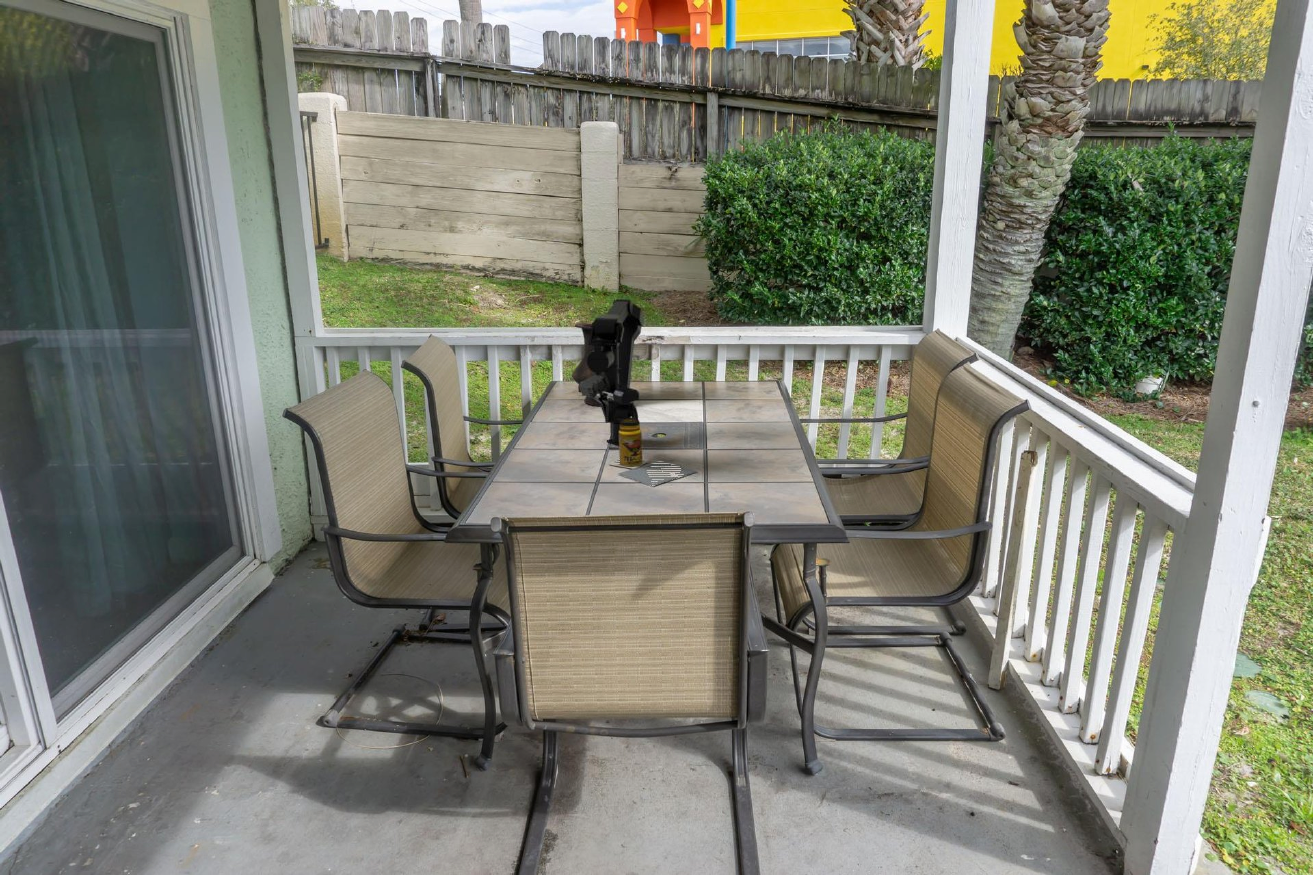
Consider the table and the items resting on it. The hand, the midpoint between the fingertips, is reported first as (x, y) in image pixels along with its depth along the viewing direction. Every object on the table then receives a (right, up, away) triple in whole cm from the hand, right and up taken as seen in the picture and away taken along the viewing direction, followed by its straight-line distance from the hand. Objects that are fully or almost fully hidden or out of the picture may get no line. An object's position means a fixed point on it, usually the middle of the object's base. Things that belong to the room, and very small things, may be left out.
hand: (608, 422), depth 240 cm
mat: (+13, -13, -10) cm, 21 cm away
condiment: (+5, -11, -2) cm, 13 cm away
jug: (-5, +7, +60) cm, 61 cm away
